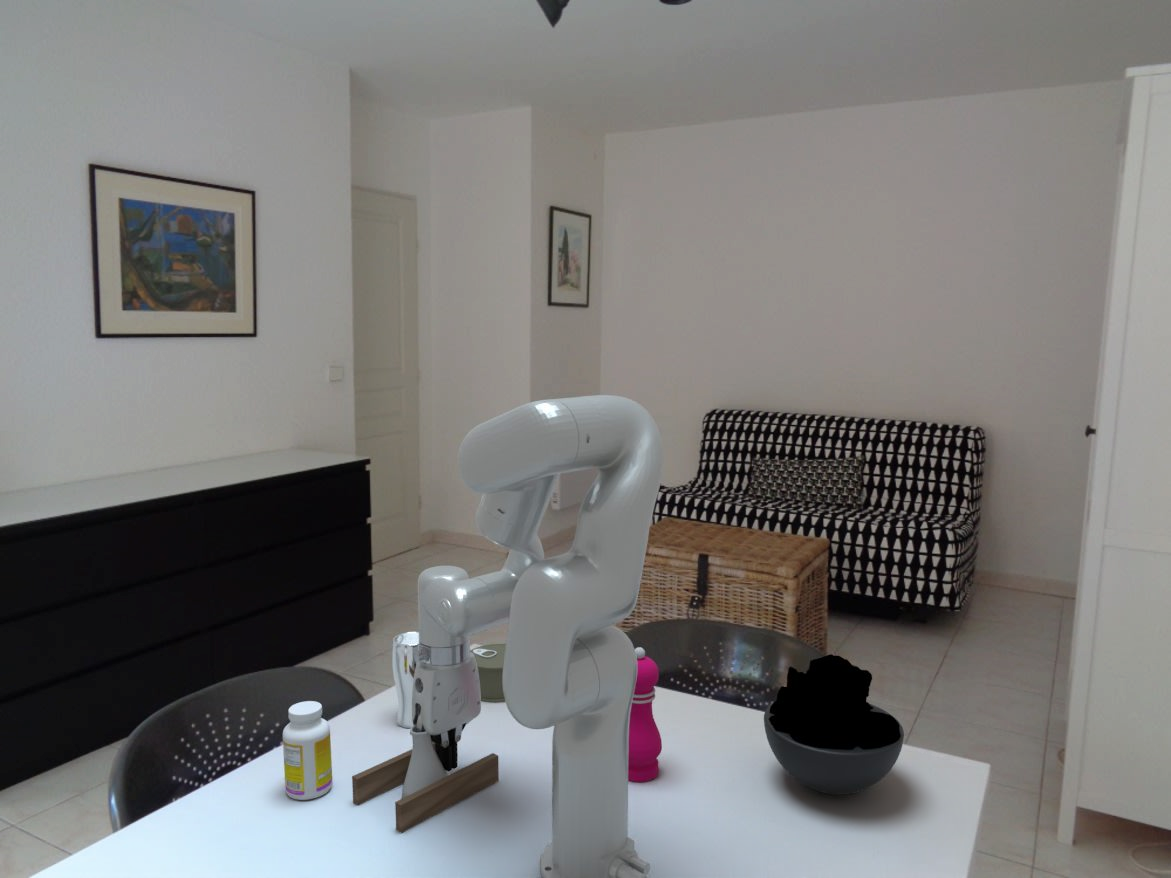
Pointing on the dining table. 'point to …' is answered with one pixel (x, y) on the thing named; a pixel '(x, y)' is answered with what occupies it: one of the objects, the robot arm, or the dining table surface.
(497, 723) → the dining table surface
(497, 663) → the can
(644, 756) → the pepper mill
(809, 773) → the bowl of black rocks
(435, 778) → the flask
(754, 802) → the dining table surface
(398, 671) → the beer glass
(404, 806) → the chute
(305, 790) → the supplement bottle
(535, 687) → the robot arm
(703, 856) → the dining table surface
